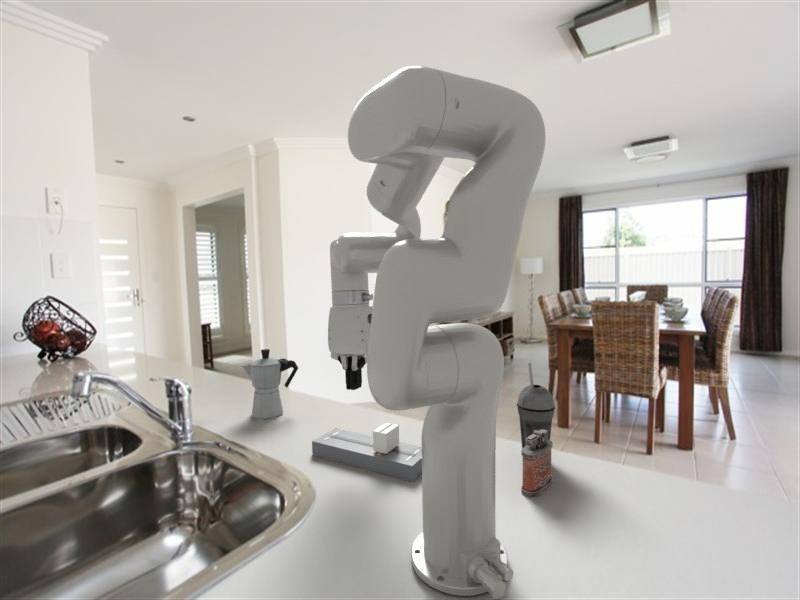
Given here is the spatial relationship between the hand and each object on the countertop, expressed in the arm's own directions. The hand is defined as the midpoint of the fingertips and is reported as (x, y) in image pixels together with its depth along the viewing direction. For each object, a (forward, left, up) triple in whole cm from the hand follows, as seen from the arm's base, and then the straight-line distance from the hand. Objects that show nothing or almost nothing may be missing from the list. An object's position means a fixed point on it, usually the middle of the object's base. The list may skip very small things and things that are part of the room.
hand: (354, 388), depth 85 cm
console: (-3, -2, -15) cm, 15 cm away
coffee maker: (+36, +10, -15) cm, 41 cm away
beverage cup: (-21, -30, -15) cm, 39 cm away
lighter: (-28, -23, -15) cm, 39 cm away
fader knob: (-6, -4, -11) cm, 13 cm away
